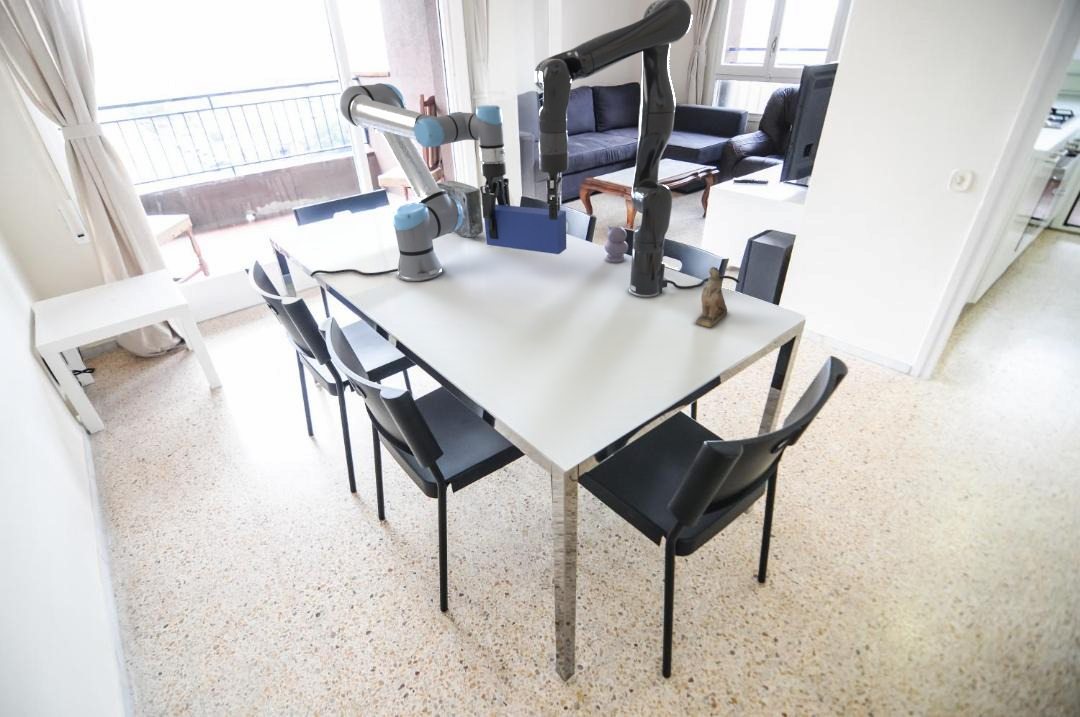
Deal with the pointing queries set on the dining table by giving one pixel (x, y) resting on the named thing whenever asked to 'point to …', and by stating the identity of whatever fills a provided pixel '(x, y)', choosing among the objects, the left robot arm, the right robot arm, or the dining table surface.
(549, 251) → the box
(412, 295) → the dining table surface
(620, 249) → the cat figurine
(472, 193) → the concrete block
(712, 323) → the brown carved statuette
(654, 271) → the right robot arm
